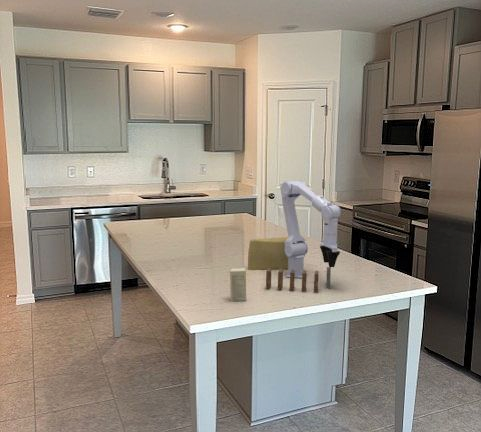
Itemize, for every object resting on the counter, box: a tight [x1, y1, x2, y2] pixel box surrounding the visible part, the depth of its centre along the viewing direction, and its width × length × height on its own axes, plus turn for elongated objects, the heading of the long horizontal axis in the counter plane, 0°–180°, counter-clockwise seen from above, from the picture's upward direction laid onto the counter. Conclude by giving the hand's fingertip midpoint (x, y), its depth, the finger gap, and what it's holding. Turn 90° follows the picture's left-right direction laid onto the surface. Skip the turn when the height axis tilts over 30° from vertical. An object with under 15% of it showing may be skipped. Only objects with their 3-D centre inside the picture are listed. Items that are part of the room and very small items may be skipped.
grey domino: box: [325, 266, 332, 290], centre depth 208 cm, size 2×5×8 cm, turn 170°
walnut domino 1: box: [265, 268, 272, 291], centre depth 205 cm, size 2×5×8 cm, turn 170°
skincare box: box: [229, 267, 247, 302], centre depth 190 cm, size 6×4×12 cm
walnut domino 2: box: [277, 269, 284, 292], centre depth 204 cm, size 2×5×8 cm, turn 169°
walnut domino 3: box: [289, 269, 296, 292], centre depth 204 cm, size 2×5×8 cm, turn 170°
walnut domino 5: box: [313, 270, 320, 294], centre depth 202 cm, size 2×5×8 cm, turn 170°
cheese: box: [247, 236, 296, 271], centre depth 235 cm, size 22×10×15 cm, turn 104°
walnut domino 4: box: [301, 269, 308, 293], centre depth 203 cm, size 2×5×8 cm, turn 169°
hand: (329, 264), depth 207 cm, fingers open, 7 cm apart
